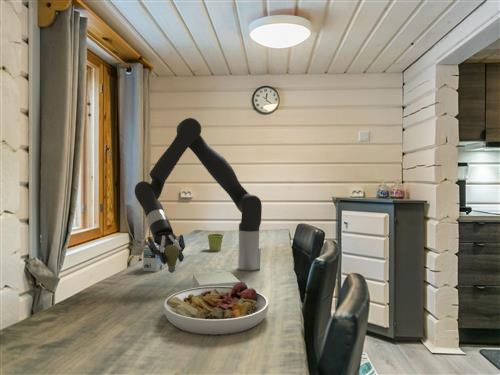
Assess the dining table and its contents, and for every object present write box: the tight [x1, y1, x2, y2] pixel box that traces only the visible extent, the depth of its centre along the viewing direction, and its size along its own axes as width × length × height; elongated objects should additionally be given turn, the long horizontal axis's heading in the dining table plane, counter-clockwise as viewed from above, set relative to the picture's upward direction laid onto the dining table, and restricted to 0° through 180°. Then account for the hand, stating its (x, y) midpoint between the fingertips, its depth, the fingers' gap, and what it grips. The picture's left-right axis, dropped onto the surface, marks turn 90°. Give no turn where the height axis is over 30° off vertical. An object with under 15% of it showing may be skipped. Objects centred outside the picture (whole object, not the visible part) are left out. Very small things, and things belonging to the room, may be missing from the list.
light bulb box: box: [142, 242, 168, 273], centre depth 163 cm, size 11×7×11 cm, turn 168°
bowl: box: [163, 281, 269, 336], centre depth 108 cm, size 30×30×8 cm
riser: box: [192, 271, 241, 288], centre depth 131 cm, size 14×14×5 cm
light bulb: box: [164, 244, 179, 274], centre depth 132 cm, size 6×6×10 cm
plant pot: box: [206, 233, 224, 252], centre depth 208 cm, size 9×9×9 cm
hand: (173, 261), depth 131 cm, fingers closed on light bulb, 5 cm apart
